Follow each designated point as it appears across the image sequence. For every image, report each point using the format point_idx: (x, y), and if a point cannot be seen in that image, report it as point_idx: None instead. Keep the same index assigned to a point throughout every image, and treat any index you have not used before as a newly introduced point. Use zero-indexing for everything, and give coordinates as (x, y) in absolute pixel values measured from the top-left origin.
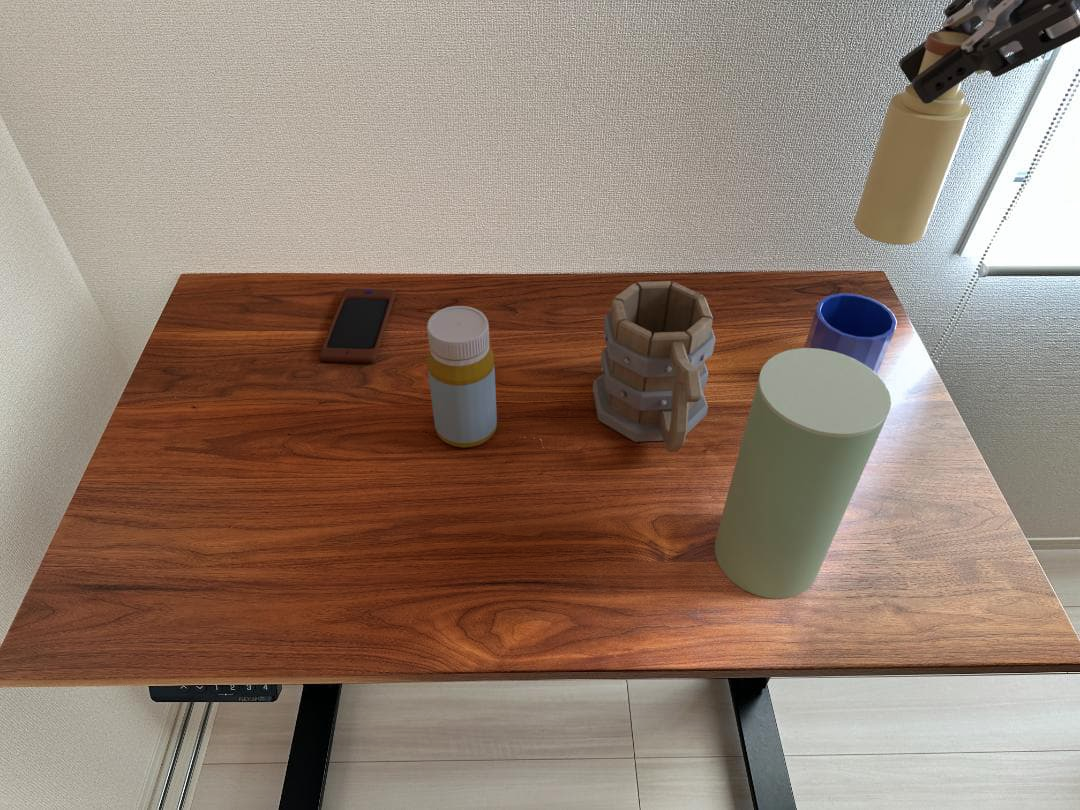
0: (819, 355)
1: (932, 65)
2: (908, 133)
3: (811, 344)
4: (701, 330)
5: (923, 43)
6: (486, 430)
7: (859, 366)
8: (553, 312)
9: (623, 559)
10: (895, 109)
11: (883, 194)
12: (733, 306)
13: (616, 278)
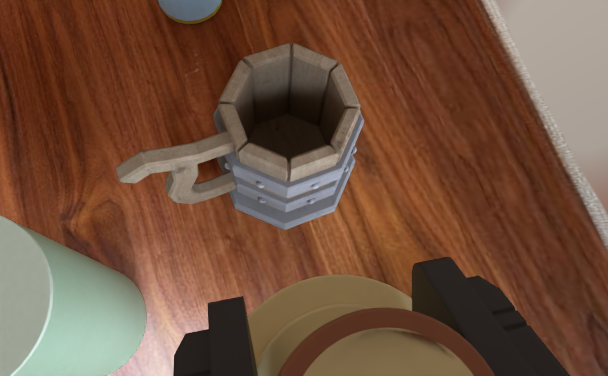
0: (33, 292)
1: (239, 353)
2: None
3: None
4: (259, 162)
5: (485, 320)
6: (171, 11)
7: (15, 356)
8: (411, 30)
9: (55, 182)
10: (283, 289)
11: None
12: (514, 235)
13: (511, 83)
